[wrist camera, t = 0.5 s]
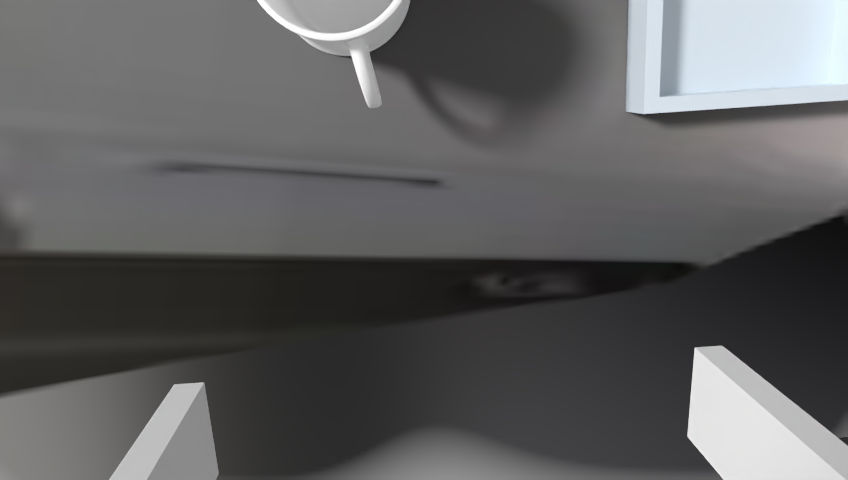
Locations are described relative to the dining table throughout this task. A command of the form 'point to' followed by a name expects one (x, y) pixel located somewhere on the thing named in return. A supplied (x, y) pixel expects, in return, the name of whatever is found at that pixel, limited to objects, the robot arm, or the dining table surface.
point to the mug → (344, 30)
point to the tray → (735, 53)
